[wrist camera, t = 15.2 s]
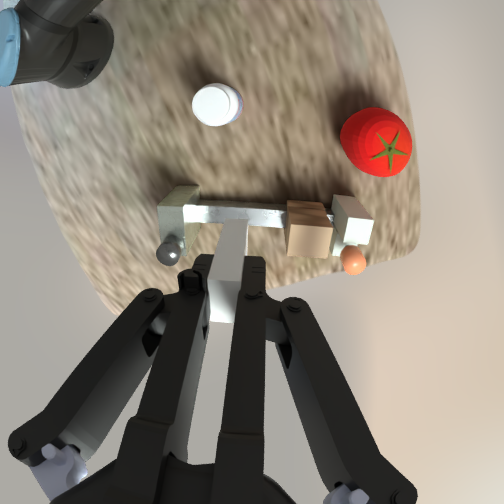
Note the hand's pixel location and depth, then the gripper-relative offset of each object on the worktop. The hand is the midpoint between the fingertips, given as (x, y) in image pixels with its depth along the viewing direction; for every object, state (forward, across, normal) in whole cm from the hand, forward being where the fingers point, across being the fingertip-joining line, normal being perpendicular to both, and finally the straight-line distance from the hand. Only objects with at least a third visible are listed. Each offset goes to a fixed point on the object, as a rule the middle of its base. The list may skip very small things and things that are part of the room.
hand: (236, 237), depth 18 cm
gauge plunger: (+21, +16, -12) cm, 29 cm away
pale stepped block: (+28, +16, -10) cm, 34 cm away
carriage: (+28, +9, -10) cm, 31 cm away
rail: (+28, +1, -10) cm, 30 cm away
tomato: (+28, +18, +5) cm, 34 cm away
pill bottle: (+29, -5, +8) cm, 30 cm away
